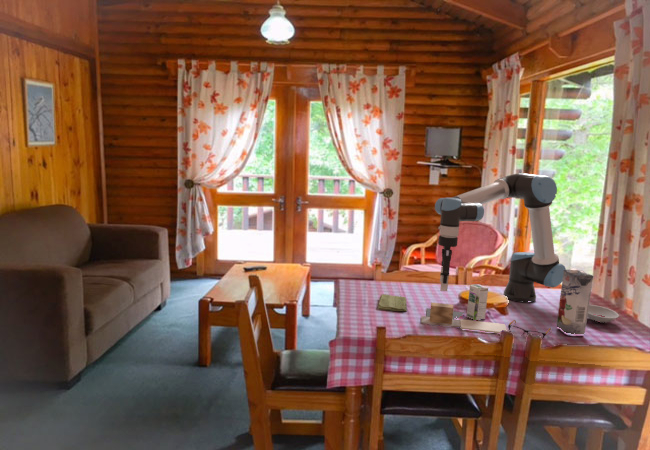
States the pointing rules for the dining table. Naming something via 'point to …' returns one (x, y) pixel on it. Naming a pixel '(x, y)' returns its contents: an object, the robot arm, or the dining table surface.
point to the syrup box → (477, 302)
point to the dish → (601, 313)
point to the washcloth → (392, 303)
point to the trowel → (441, 316)
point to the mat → (453, 313)
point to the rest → (482, 326)
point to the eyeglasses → (526, 330)
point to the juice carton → (574, 301)
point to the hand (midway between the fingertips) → (443, 286)
